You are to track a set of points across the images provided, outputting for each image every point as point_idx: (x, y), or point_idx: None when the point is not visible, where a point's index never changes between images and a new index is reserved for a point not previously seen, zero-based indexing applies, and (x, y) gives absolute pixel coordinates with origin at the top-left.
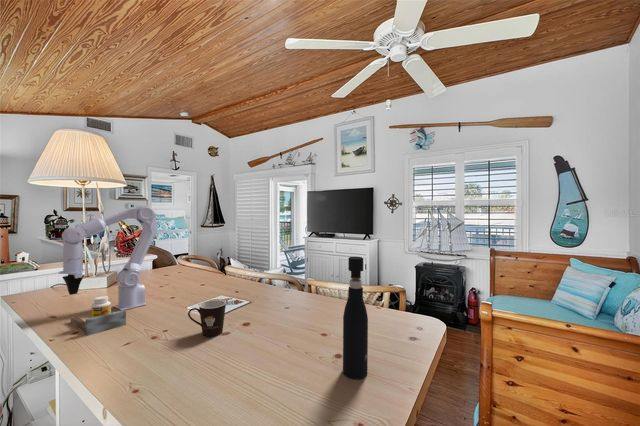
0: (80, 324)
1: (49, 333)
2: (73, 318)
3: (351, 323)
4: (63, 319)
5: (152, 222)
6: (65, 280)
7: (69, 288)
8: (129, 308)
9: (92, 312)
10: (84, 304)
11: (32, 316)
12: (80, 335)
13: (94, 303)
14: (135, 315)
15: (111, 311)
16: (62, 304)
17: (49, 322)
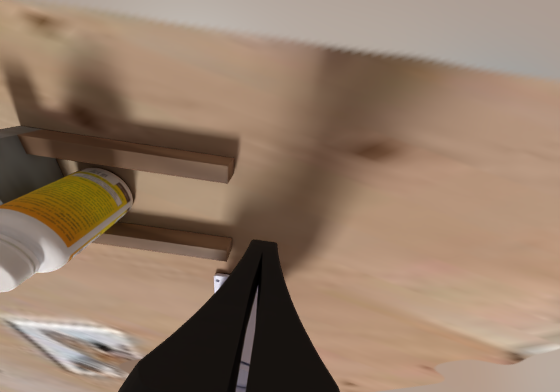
0: (86, 144)
1: (146, 52)
2: (191, 161)
3: None
4: (296, 157)
5: None
6: (235, 352)
7: (231, 274)
8: (214, 287)
9: (31, 195)
10: (409, 260)
11: (490, 103)
12: (38, 113)
13: (18, 232)
14: (142, 268)
15: (175, 252)
16: (508, 231)
17: (309, 112)
